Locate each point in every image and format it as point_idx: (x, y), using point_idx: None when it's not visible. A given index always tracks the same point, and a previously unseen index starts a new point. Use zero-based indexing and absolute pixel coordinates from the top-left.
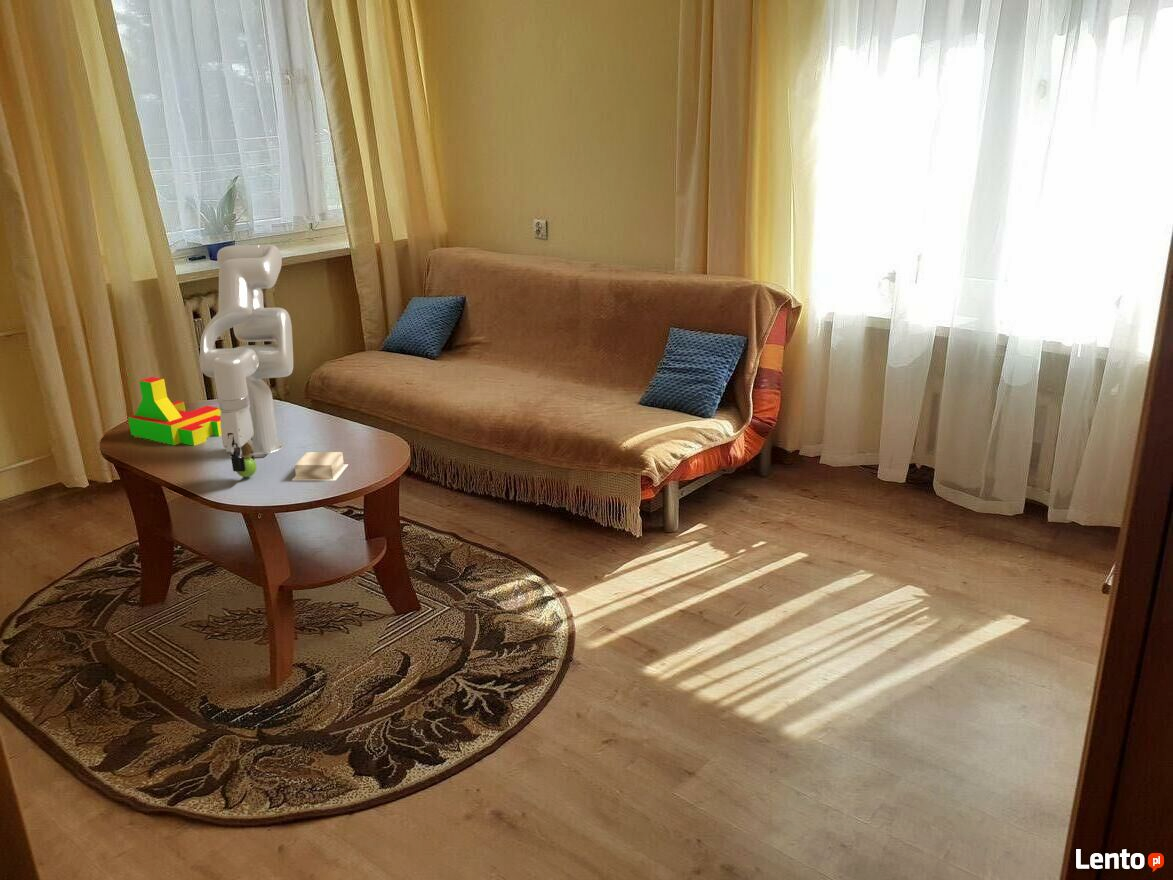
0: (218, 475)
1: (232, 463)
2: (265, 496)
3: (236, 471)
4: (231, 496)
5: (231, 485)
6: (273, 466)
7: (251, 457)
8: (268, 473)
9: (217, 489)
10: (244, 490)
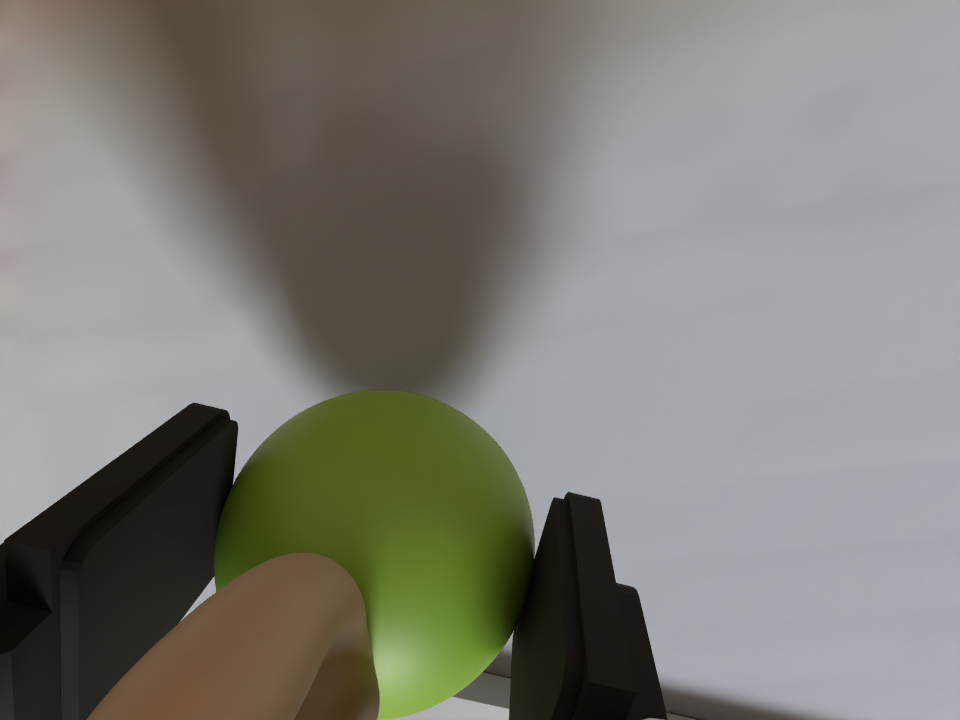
0: (744, 22)
1: (109, 470)
2: None
3: (310, 407)
4: (3, 329)
5: (328, 274)
6: (827, 626)
7: (510, 688)
8: None
9: (213, 122)
10: None
